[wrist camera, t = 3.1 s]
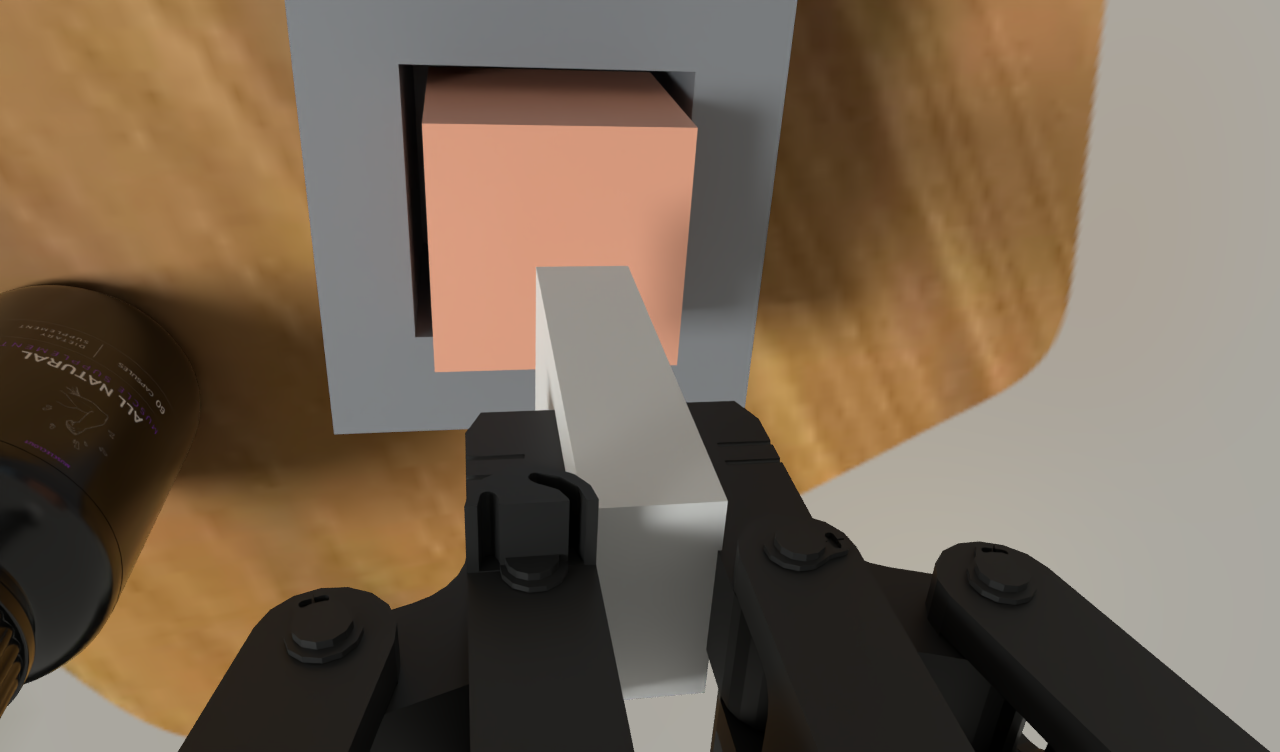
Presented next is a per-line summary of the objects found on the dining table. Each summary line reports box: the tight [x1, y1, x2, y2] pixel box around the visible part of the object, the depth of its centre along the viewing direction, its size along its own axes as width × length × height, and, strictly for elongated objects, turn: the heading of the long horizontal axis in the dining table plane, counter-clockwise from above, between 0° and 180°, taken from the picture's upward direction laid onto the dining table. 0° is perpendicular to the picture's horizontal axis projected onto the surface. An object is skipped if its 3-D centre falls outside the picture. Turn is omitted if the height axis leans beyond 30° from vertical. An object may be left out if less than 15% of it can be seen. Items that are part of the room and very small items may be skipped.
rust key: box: [422, 66, 698, 372], centre depth 21 cm, size 5×5×5 cm
